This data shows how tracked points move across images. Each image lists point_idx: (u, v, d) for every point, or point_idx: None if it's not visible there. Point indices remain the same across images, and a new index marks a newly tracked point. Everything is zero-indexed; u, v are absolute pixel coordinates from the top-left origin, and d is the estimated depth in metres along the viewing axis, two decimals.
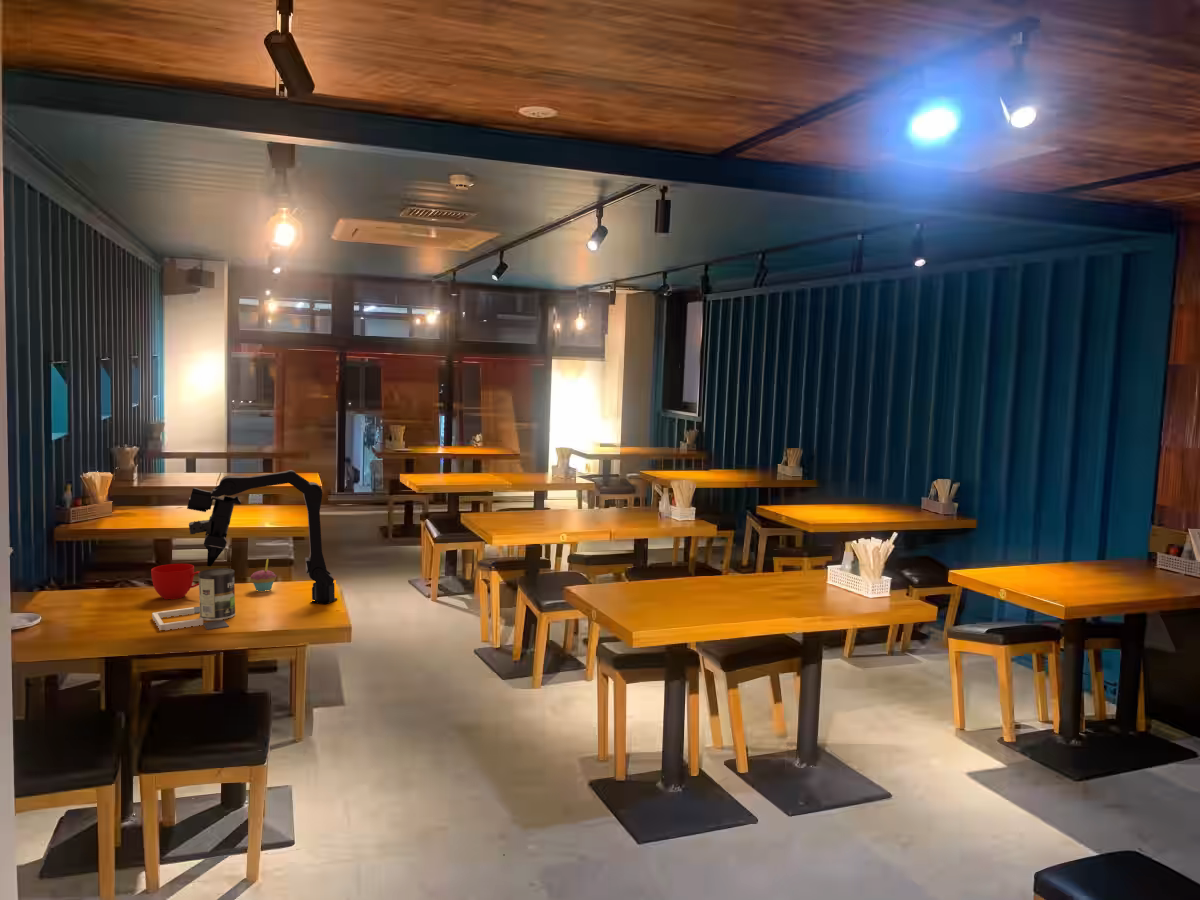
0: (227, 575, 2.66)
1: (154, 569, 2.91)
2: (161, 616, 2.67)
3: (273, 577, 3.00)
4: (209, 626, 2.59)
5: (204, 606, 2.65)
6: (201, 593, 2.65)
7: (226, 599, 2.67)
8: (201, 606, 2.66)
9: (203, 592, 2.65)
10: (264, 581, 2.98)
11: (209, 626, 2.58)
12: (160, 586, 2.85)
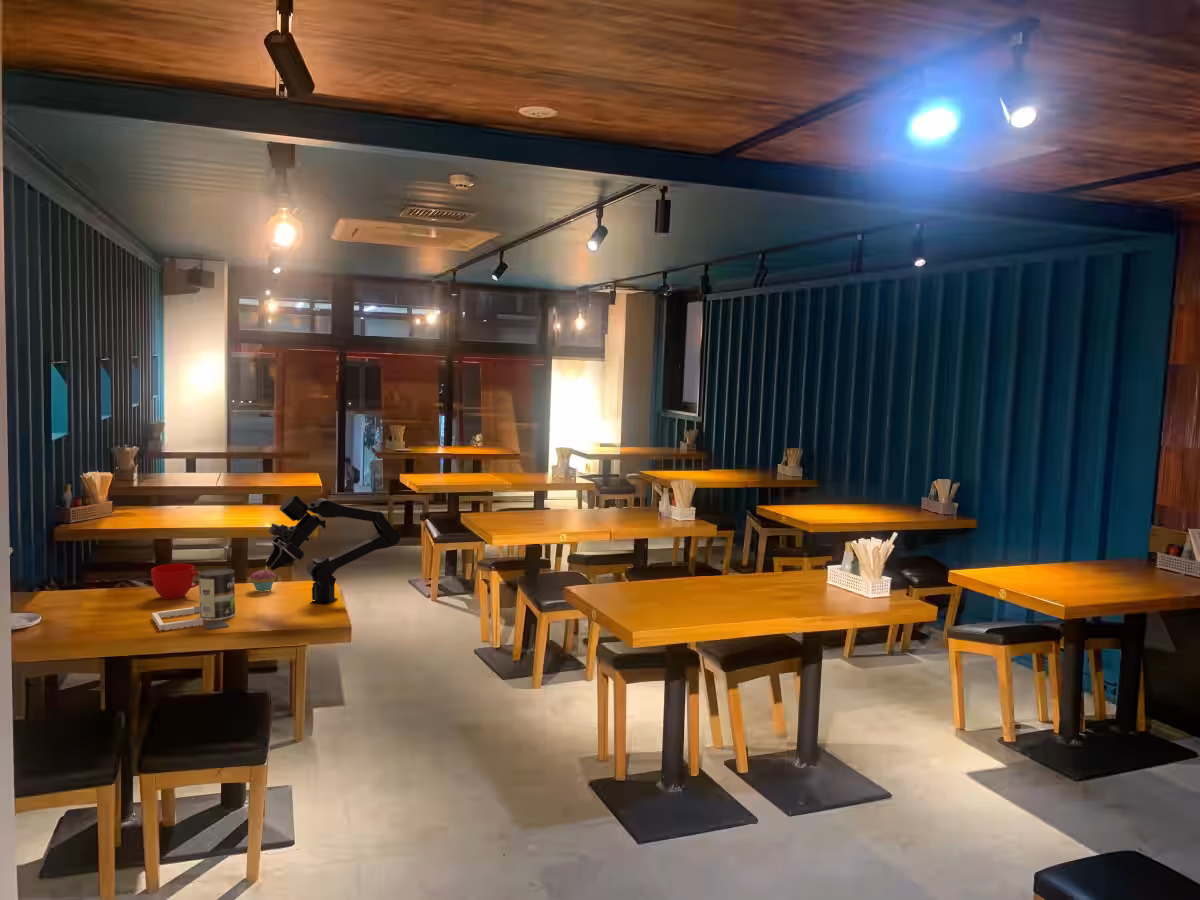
0: (227, 575, 2.66)
1: (154, 569, 2.91)
2: (161, 616, 2.67)
3: (273, 577, 3.00)
4: (209, 626, 2.59)
5: (204, 606, 2.65)
6: (201, 593, 2.65)
7: (226, 598, 2.67)
8: (201, 606, 2.66)
9: (203, 592, 2.65)
10: (264, 581, 2.98)
11: (209, 626, 2.58)
12: (160, 586, 2.85)
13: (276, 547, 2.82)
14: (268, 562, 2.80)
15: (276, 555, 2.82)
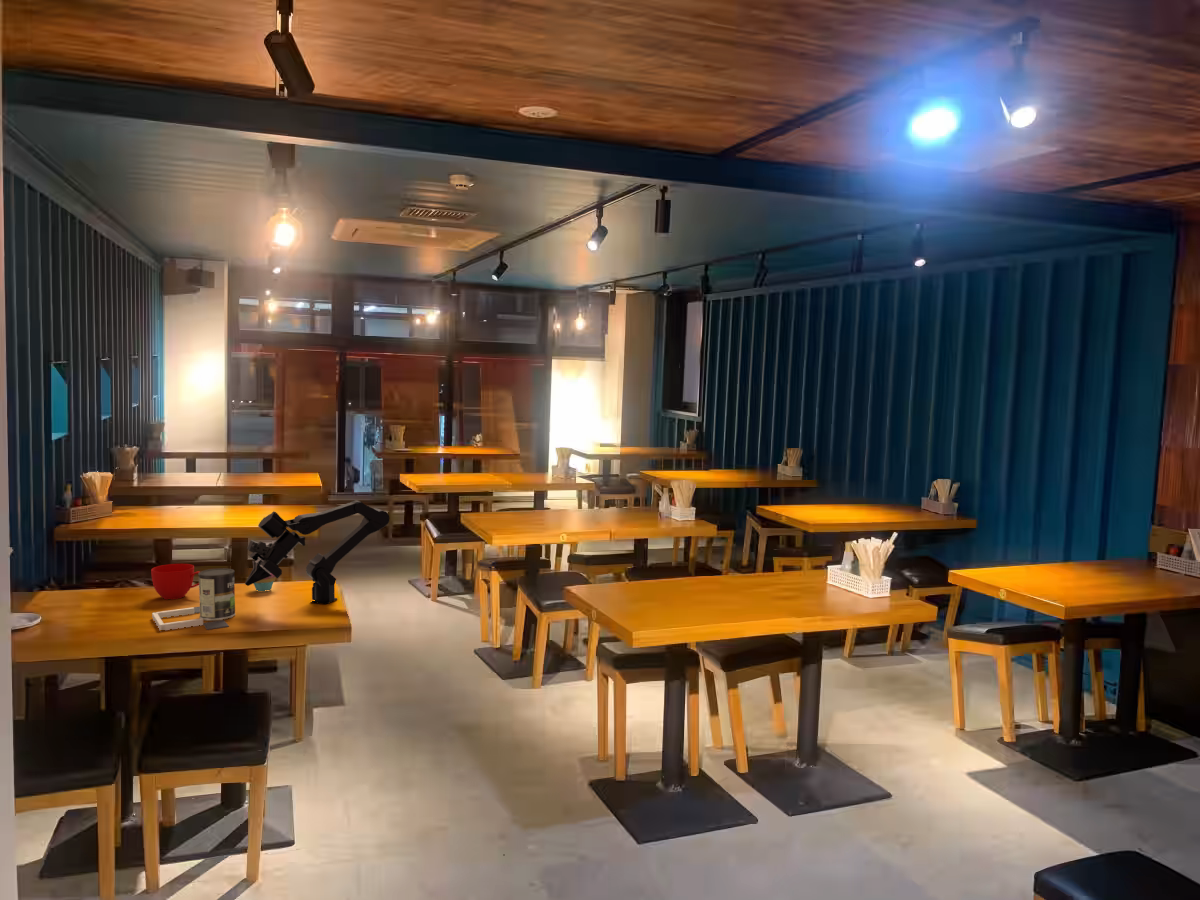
0: (227, 575, 2.66)
1: (154, 569, 2.91)
2: (161, 616, 2.67)
3: (273, 577, 3.00)
4: (209, 626, 2.59)
5: (204, 606, 2.65)
6: (201, 593, 2.65)
7: (226, 598, 2.67)
8: (201, 606, 2.66)
9: (203, 592, 2.65)
10: (264, 581, 2.98)
11: (209, 626, 2.58)
12: (160, 586, 2.85)
13: None
14: None
15: None
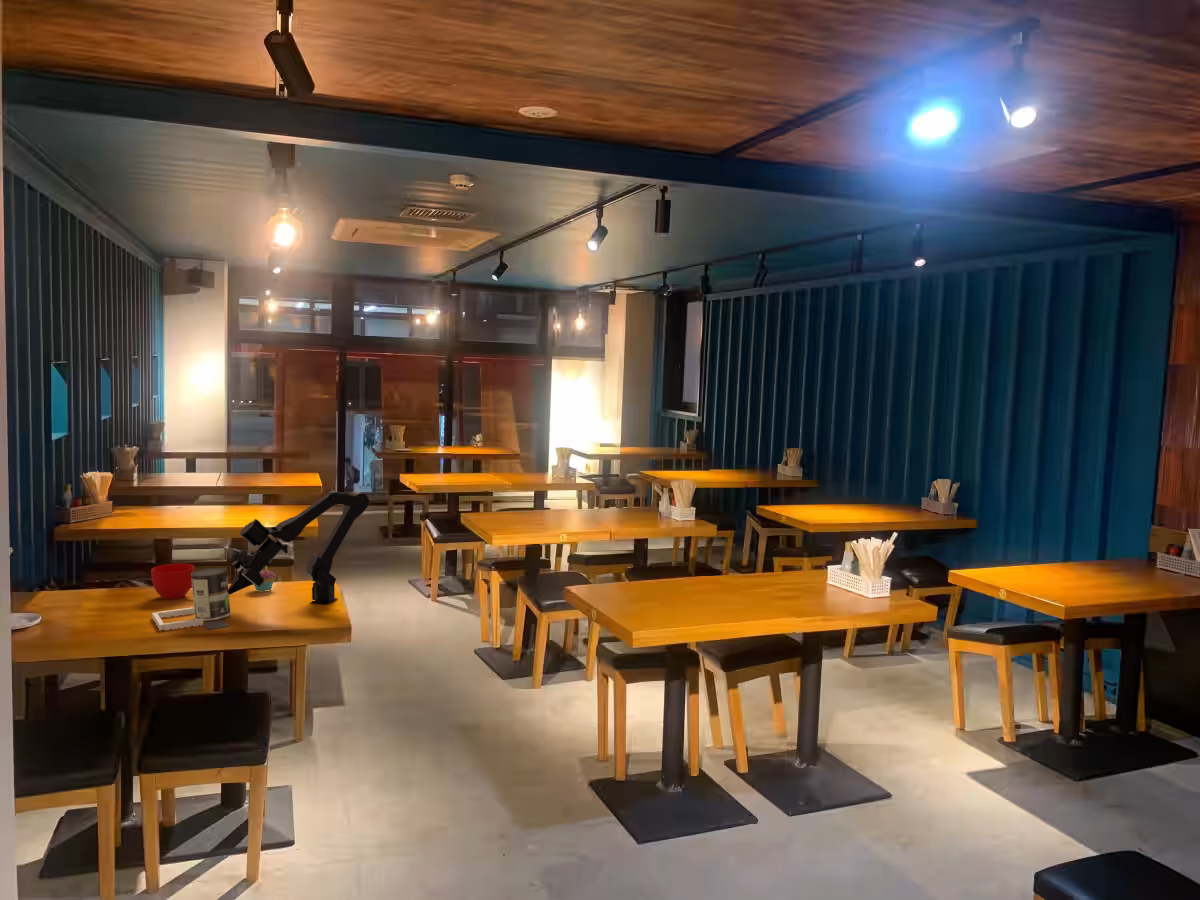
0: (220, 574, 2.65)
1: (154, 569, 2.91)
2: (161, 616, 2.67)
3: (273, 577, 3.00)
4: (209, 626, 2.59)
5: (198, 606, 2.64)
6: (195, 594, 2.64)
7: (221, 598, 2.66)
8: (196, 607, 2.65)
9: (197, 592, 2.64)
10: (264, 581, 2.98)
11: (209, 626, 2.58)
12: (160, 586, 2.85)
13: None
14: None
15: None
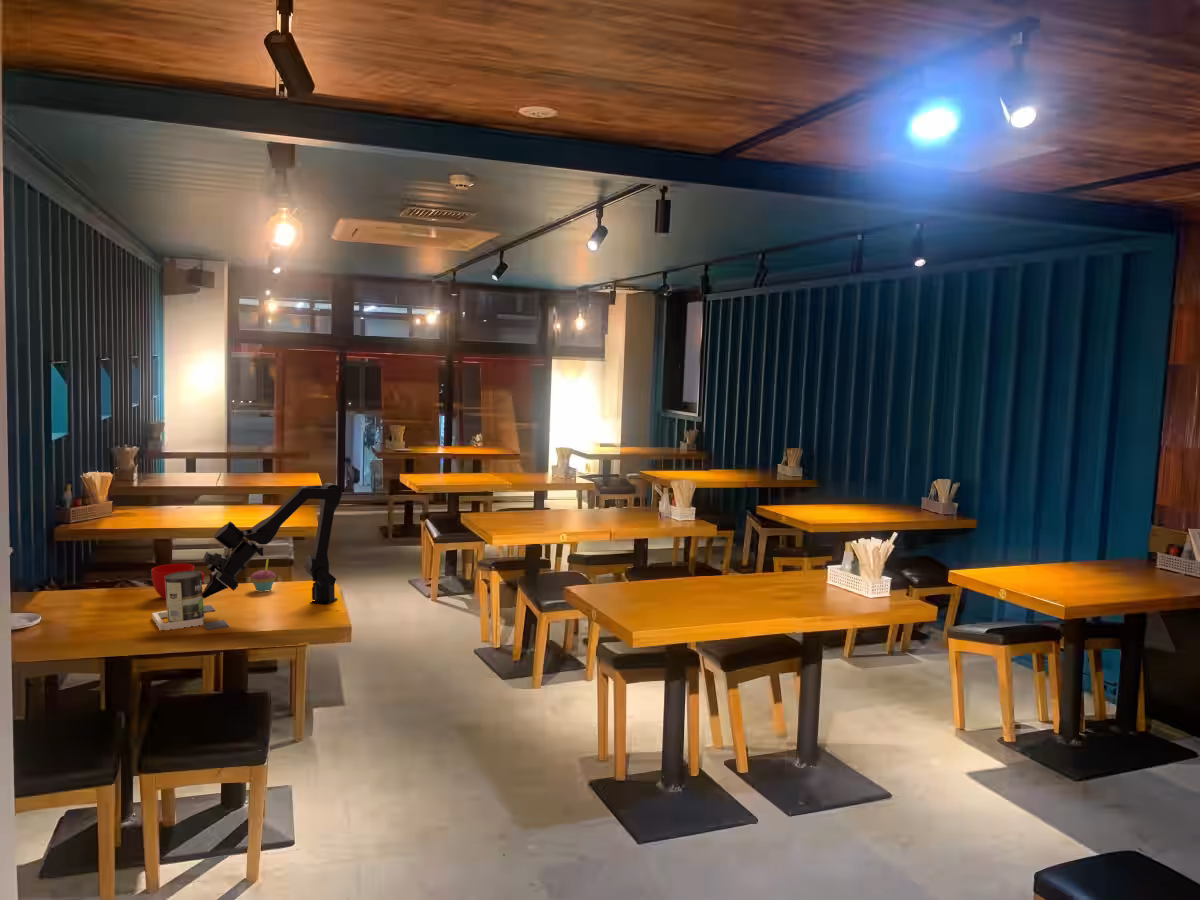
0: (194, 578, 2.61)
1: (154, 569, 2.91)
2: (161, 616, 2.67)
3: (273, 577, 3.00)
4: (209, 626, 2.59)
5: (171, 610, 2.60)
6: (168, 597, 2.60)
7: (194, 602, 2.62)
8: (168, 610, 2.61)
9: (170, 595, 2.59)
10: (264, 581, 2.98)
11: (209, 626, 2.58)
12: (160, 586, 2.85)
13: None
14: None
15: None
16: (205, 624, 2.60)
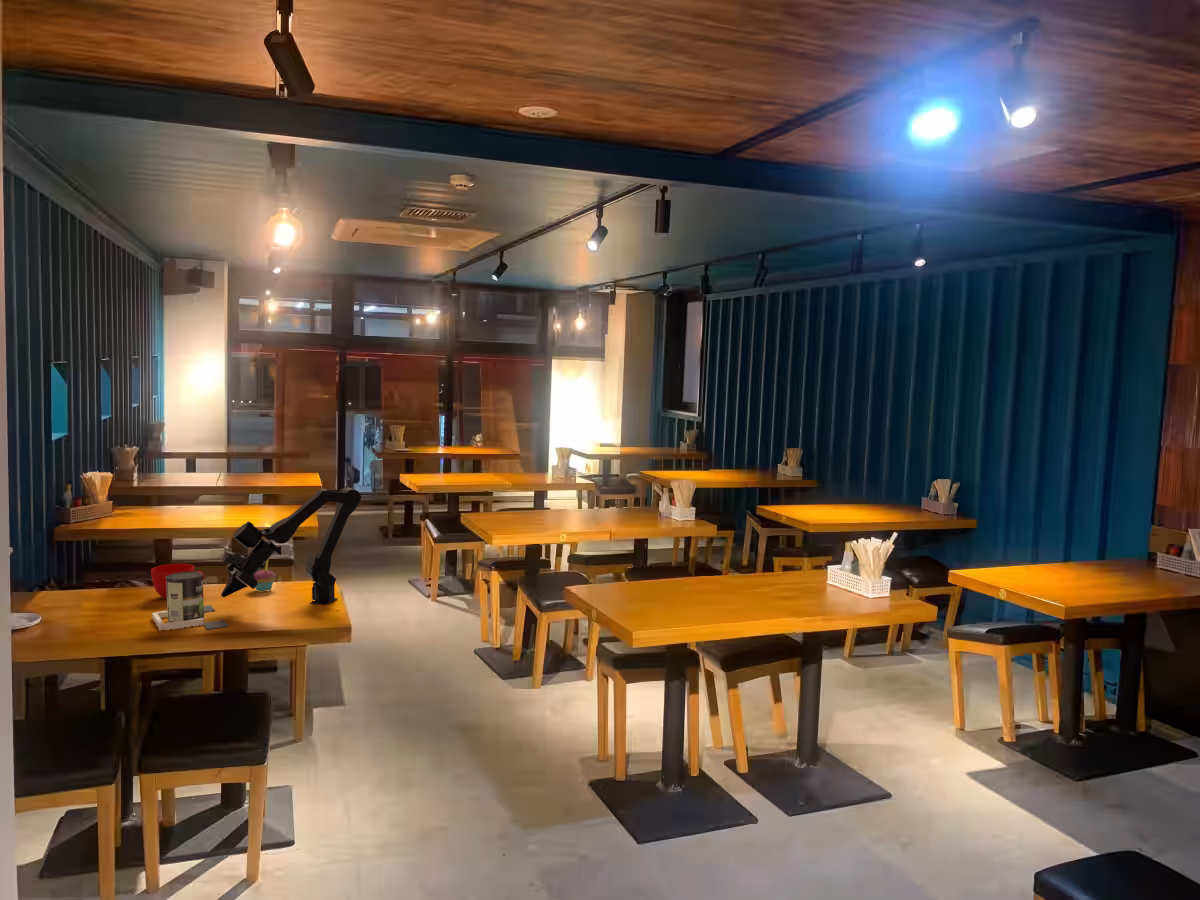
0: (196, 578, 2.61)
1: (154, 569, 2.91)
2: (161, 616, 2.67)
3: (273, 577, 3.00)
4: (209, 626, 2.59)
5: (172, 610, 2.60)
6: (169, 597, 2.60)
7: (195, 602, 2.62)
8: (169, 610, 2.61)
9: (171, 596, 2.60)
10: (264, 581, 2.98)
11: (209, 626, 2.58)
12: (160, 586, 2.85)
13: None
14: None
15: None
16: (205, 624, 2.60)
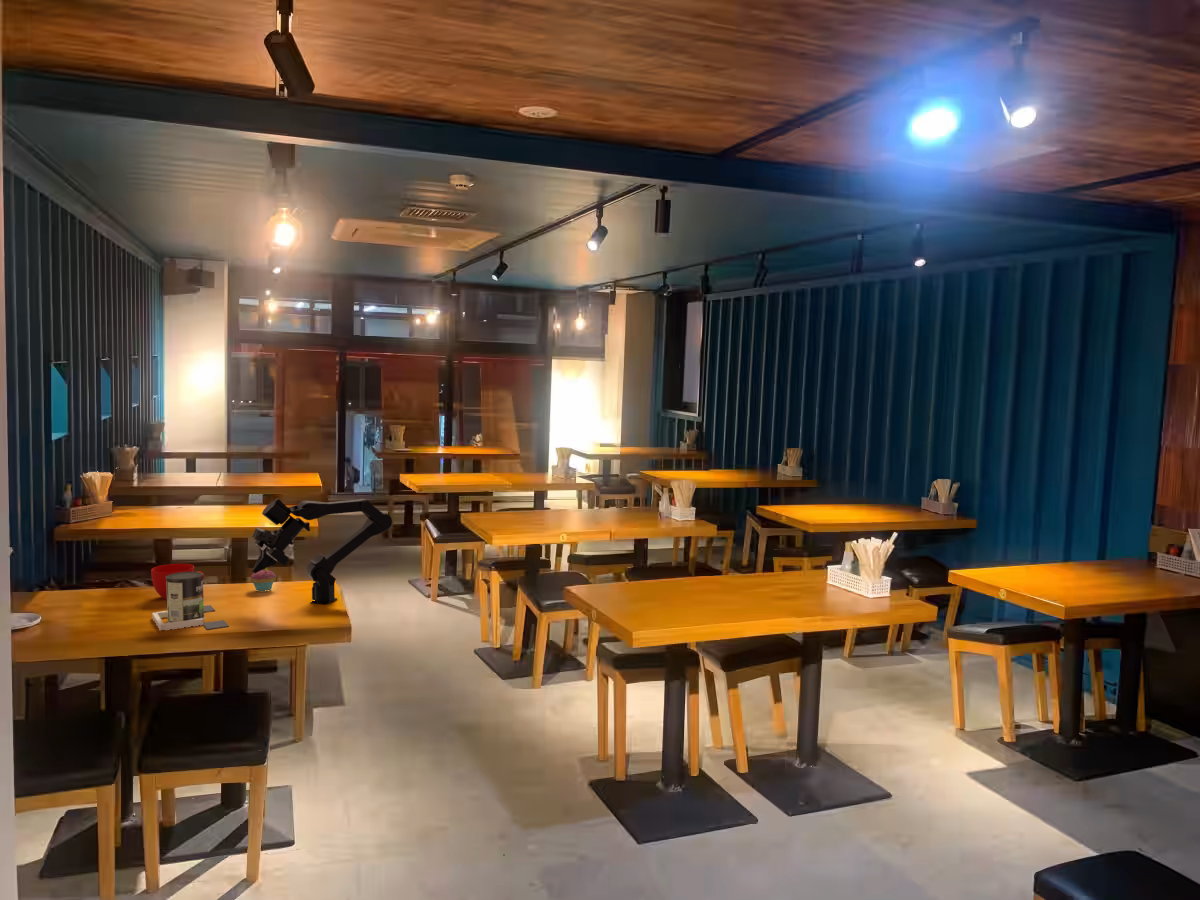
0: (196, 578, 2.61)
1: (154, 569, 2.91)
2: (161, 616, 2.67)
3: (273, 577, 3.00)
4: (209, 626, 2.59)
5: (172, 610, 2.60)
6: (169, 597, 2.60)
7: (195, 602, 2.62)
8: (169, 610, 2.61)
9: (171, 596, 2.60)
10: (264, 581, 2.98)
11: (209, 626, 2.58)
12: (160, 586, 2.85)
13: None
14: None
15: None
16: (205, 624, 2.60)
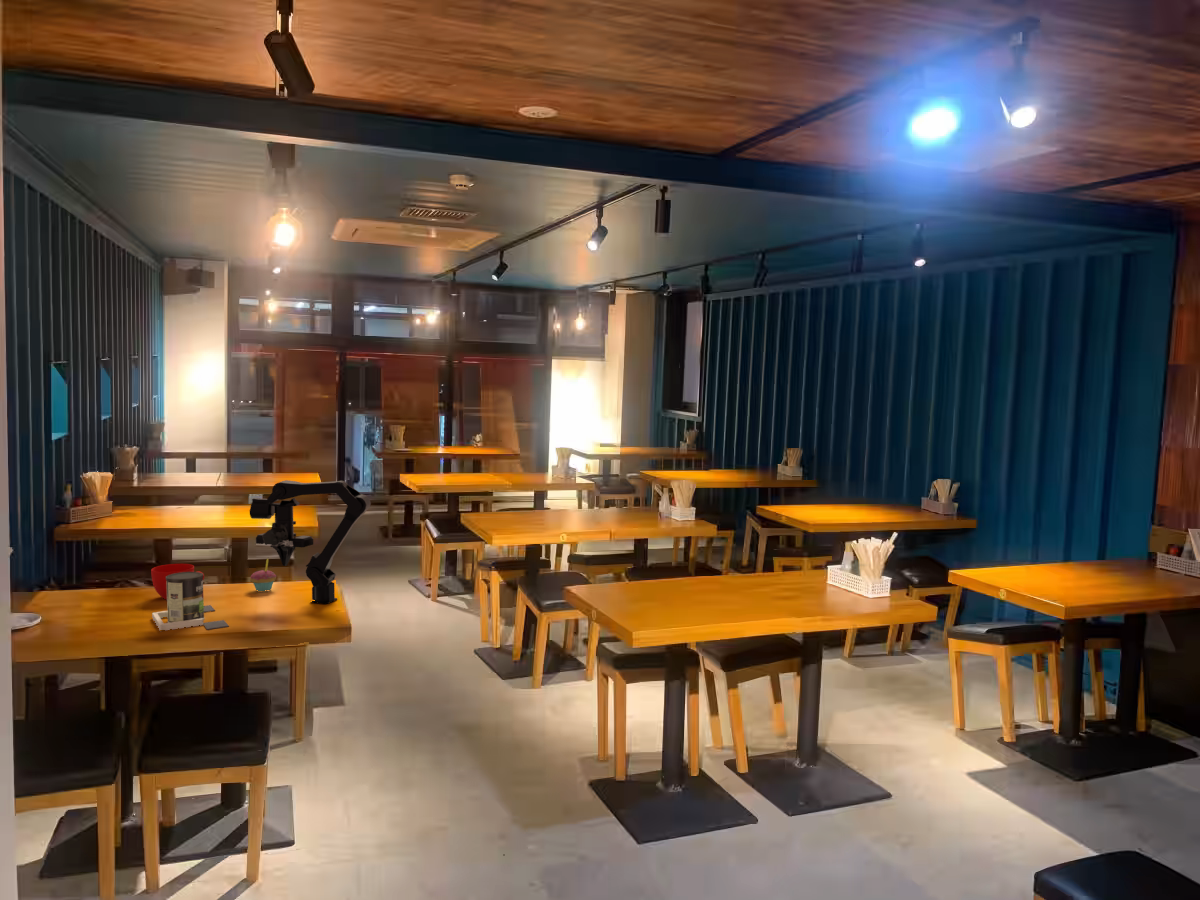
0: (196, 578, 2.61)
1: (154, 569, 2.91)
2: (161, 616, 2.67)
3: (273, 577, 3.00)
4: (209, 626, 2.59)
5: (172, 610, 2.60)
6: (169, 597, 2.60)
7: (195, 602, 2.62)
8: (169, 610, 2.61)
9: (171, 596, 2.60)
10: (264, 581, 2.98)
11: (209, 626, 2.58)
12: (160, 586, 2.85)
13: (279, 547, 2.86)
14: None
15: None
16: (205, 624, 2.60)
